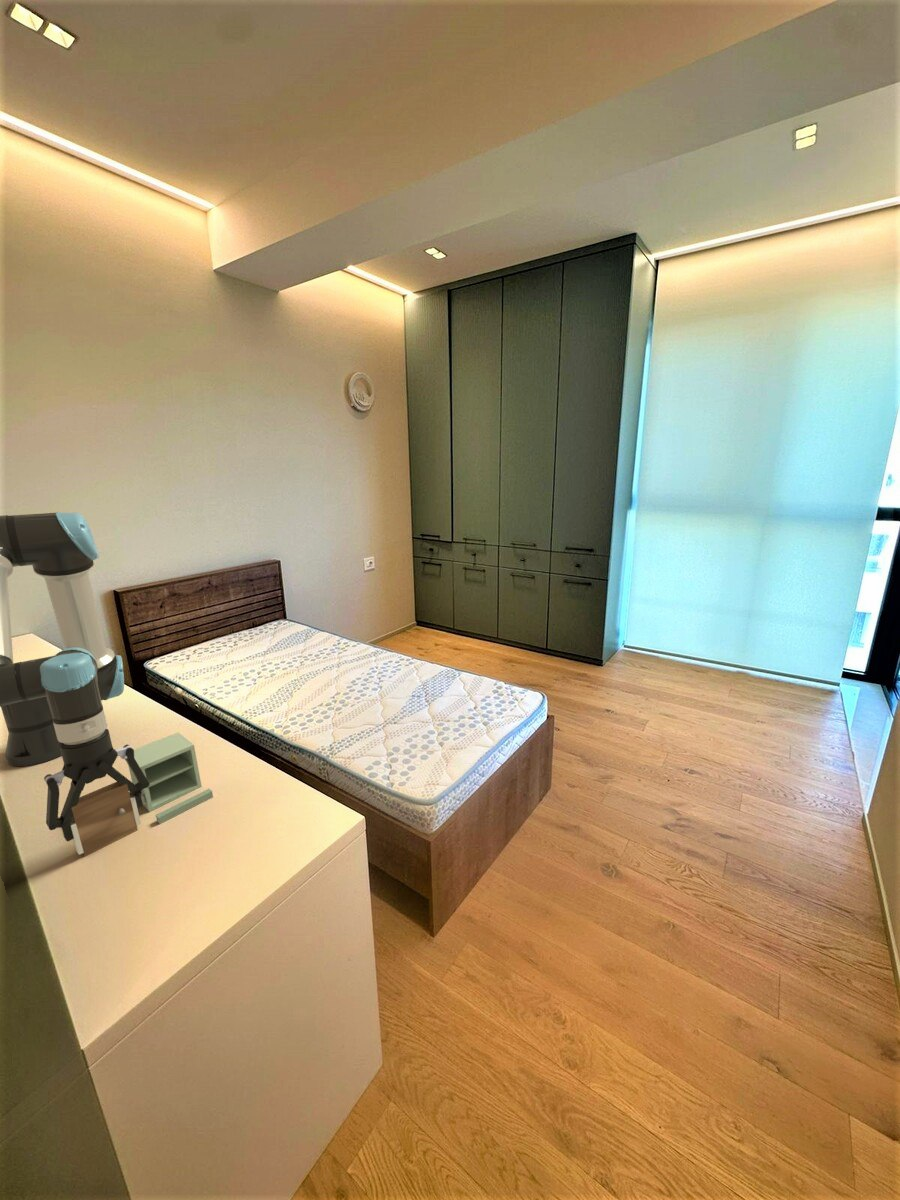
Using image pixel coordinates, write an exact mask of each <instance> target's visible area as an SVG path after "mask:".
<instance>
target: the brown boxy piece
mask: <svg viewBox="0 0 900 1200" xmlns="http://www.w3.org/2000/svg"><path fill="white" fill-rule="evenodd" d="M129 792H130V791H129V790H128V785H127V784H125V785H123V786H122V785H121V784H120V783H118V782H117V781H115V782H113V783H111V784H108V785H105V786H103V787H100V788H98V789H97V790H96V789H95V790H93V791H92V792H89V793H87V794H84V795H82V796H80V797H79V800H78V803H77V805H76V806H74V807H72V812H73V817H72V818H73V820H74V822H75V823H76V826H77V830H78V833H79V837H80V841H81V844H82V848H83V852H84V853H82V855H83V857H88V856H89V855H91V854H93V853H95V852H97V851H99V850H101V849H103V848H105V847H107V846H108V845H111V844H113V843H115V842H117V841H119V840H122V839H123V838H125V837H127V836H129V835H131V834H133V833H135V832H137V831H139V829H138V826H137V825H136V820H135V816H134V812H133V808H132V803H131V798H130V794H129Z"/></svg>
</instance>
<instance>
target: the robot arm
mask: <svg viewBox="0 0 900 1200" xmlns="http://www.w3.org/2000/svg"><path fill="white" fill-rule="evenodd" d="M99 557H100V555H99V551H98V547H97V544H96V542H95V538H94V536H93V534H92V531H91V528H90V526H89V524H88V522H87V520H86V518H85V517H84V516H83V515H82V514H80V513H77V512H60V511H56V512H46V513H45V512H43V513H32V514H30V513H28V514H27V513H26V514H14V515H11V514H10V515H7V514H6V515H0V708H1V712H2V715H3V718H4V722H5V725H6V729H7V732H8V736H7V741H6V748H5V758H6V762H7V764H8V765H9V764H10V766H12V765H13V767H27V766H33V765H37V764H42V763H46V762H48V761H52V760H55V759H57V758H59V757H61V758H62V762H63V766H62V768H61V770H60V771H58V772H55V773H54V774H51V773H50V774H49V773H48V774H46V775H45V776H44V777H43V780H44V781H45V783H46V786H47V796H46V800H47V801H46V815H45V817H46V818H45V824H46V826H47V828H48V830H49V831H54V830H56V829H58V828H60V829H61V831H62V835H63V837H64V839H65V841H66V842H70V841H71V840H72V842H73V845H74V849H75V850H76V852H77V854H78V855H79V856H80V855H83V853H84V852H83V848H82V844H81V841H80V837H79V833H78V830H77V826H76V823H75V822H74V820H73V818H72V817H73V812H72V807H74V806H76V805H77V803H78V800H79V797H81V795H82V791H84V788H85V786H86V785H88V784H90V783H92V782H94V781H96V780H98V779H103V778H105V777H106V775H107V776H108V777H110V778H111V779H114V781H115V782H118V783H120V784H121V785H122V786H123V785H125V784H127V785H128V790H129V794H130V798H131V803H132V808H133V812H134V816H135V820H136V825H137V827H138V826H140V825H142V822H141V818H140V814H139V810H138V809H139V808H141V807H143V803H142V799H141V794H142V792H141V791H142V790H143V789H144V788H147V787H149V782H148V780H147V779H146V777H145V775H144V774H143V772H142V770H141V769H140V767H139V765H138V763H137V762H136V760H135V758H134V749H135V748H134V749H133V747H132V746H131V745H130V744H125V745H124V746H123V747H120V748H117V749H115V748H114V747H113V744H112V738H111V735H110V730H109V729H108V722H107V719H106V715H105V710H104V706H103V703H102V701H108V700H109V699H114V698H116V697H119V696H121V695H122V694H123V692H124V691H125V676H124V675H125V673H124V664H123V657H122V655H119V654H115V651H114V650H113V649H111V648H109V647H108V646H107V645H106V642H105V637H104V634H103V629H102V624H101V621H100V617H99V613H98V607H97V604H96V599H95V595H94V592H93V587H92V582H91V579H90V573H89V571H90V570H92V568H94V565H95V564H94V561H95V560H97V559H98V558H99ZM25 566H26V567H27V566H32V567H33V568H32V569H33V572H34V573H35V574H36V575H38V576H40V577H42V578H44V582H45V584H46V588H47V592H48V596H49V599H50V602H51V606H52V609H53V612H54V617H55V620H56V623H57V626H58V631H59V634H60V638H61V640H62V644H63V648H64V649H62V650H61V651H59V652H57V653H55V654H54V655H51V656H46V657H40V658H36V659H30V660H25V661H24V660H23V661H18V662H14V656H13V655H14V653H13V640H12V628H11V627H12V625H11V623H12V622H11V613H10V611H11V610H10V597H9V596H10V595H9V582H8V581H9V580H8V578H10V576H11V575H12V574H13V570H14V567H15V568H16V567H25ZM118 757H120V758H121V759H122V760H125V762H126V763H127V765H129V766H128V768H129V767H130V768H131V770H132V772H133V773H134V775H135V777H136V778H137V780H138V783H137V784H133V783H132V780H129V779H128V777H126V776H124V774H122V773H121V772H120V771H119V770H117V769H116V768H114V766H113V765H114V763H115V762H116V760H117V758H118ZM64 778H68V779H70V780H71V782H70V788H69V790H68V793H67V795H66V799H65V802H64V804H63V808H62V810H61V813H60V816H59V807H60V806H59V804H60V788H59V786H61V785H62V784H63V779H64Z"/></svg>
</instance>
